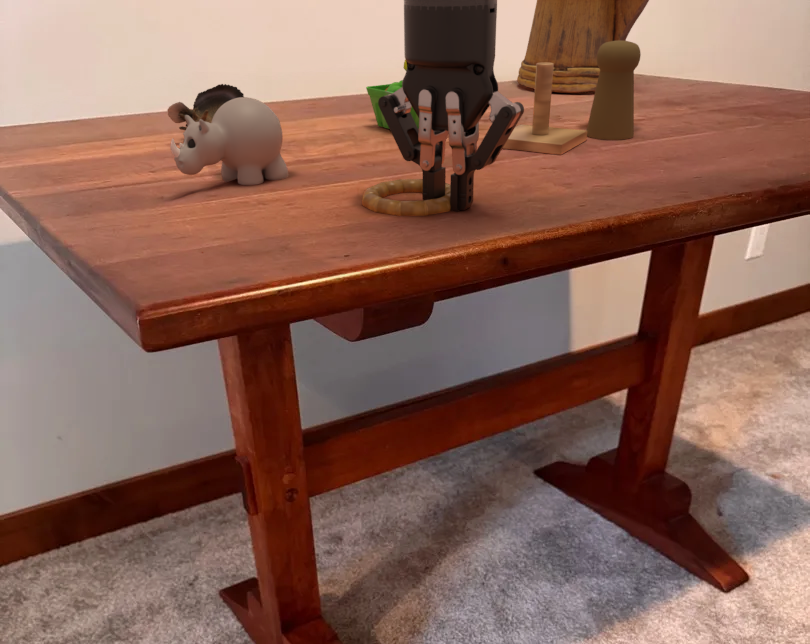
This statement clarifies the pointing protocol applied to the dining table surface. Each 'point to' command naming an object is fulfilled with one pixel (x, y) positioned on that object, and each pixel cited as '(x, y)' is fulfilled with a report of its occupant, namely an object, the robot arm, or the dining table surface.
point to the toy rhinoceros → (235, 143)
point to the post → (544, 122)
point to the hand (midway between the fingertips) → (447, 211)
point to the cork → (614, 92)
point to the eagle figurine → (204, 104)
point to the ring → (377, 203)
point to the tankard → (575, 39)
